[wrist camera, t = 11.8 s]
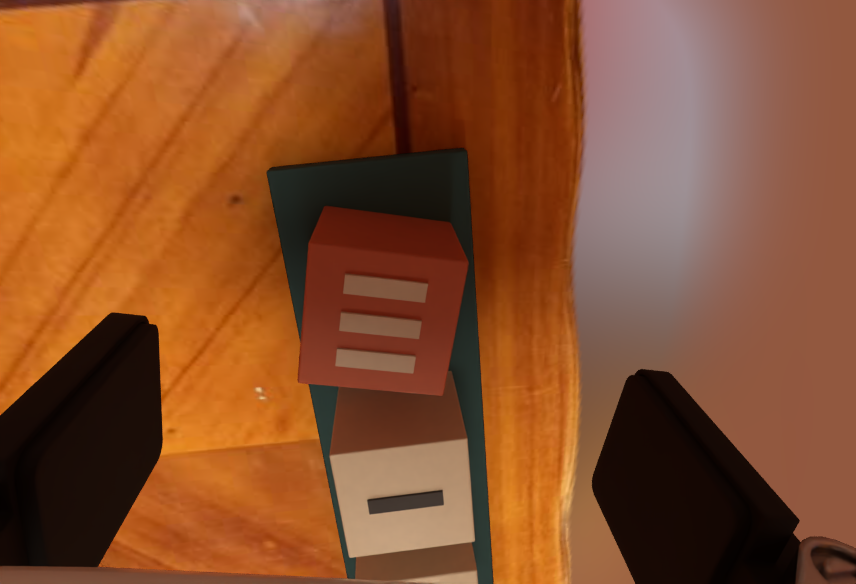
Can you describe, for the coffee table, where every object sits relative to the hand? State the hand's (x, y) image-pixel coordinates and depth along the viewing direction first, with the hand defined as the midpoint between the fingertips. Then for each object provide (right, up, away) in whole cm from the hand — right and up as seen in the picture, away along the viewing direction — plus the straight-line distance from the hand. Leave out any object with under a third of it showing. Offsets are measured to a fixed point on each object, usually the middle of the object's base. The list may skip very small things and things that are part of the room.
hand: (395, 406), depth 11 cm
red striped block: (-1, +3, +10) cm, 10 cm away
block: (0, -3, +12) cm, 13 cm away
